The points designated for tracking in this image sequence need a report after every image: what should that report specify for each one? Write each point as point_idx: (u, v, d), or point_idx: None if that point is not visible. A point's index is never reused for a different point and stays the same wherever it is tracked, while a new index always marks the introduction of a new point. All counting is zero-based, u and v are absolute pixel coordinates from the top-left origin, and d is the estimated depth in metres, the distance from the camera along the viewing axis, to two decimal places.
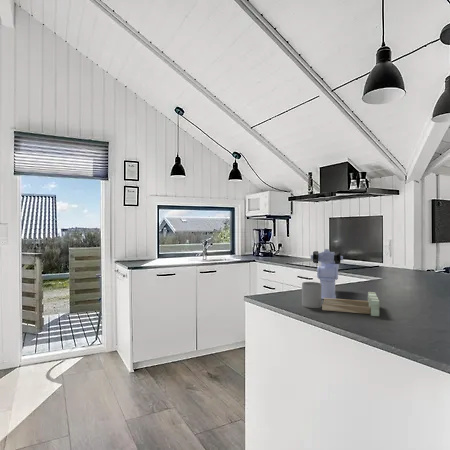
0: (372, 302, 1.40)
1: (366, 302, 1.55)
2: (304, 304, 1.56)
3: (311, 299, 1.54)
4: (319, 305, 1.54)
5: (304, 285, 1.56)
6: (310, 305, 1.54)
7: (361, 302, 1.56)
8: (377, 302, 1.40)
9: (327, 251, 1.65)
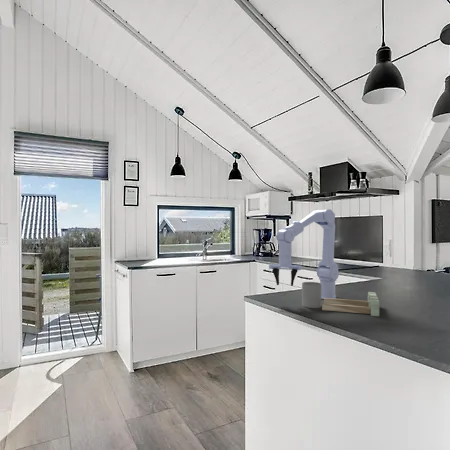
0: (372, 302, 1.40)
1: (366, 302, 1.55)
2: (304, 304, 1.56)
3: (311, 299, 1.54)
4: (319, 305, 1.54)
5: (304, 285, 1.56)
6: (310, 305, 1.54)
7: (361, 302, 1.56)
8: (377, 302, 1.40)
9: (284, 267, 1.59)
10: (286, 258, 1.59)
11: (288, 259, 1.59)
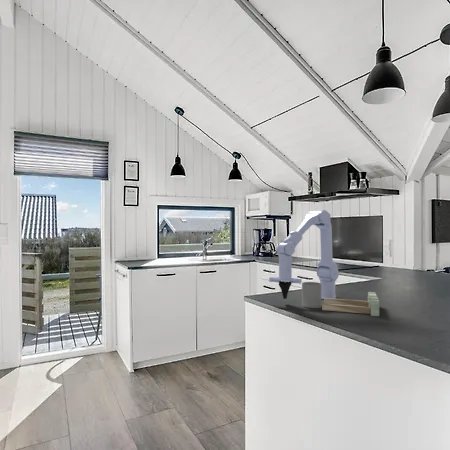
0: (372, 302, 1.40)
1: (366, 302, 1.55)
2: (304, 304, 1.56)
3: (311, 299, 1.54)
4: (319, 305, 1.54)
5: (304, 285, 1.56)
6: (310, 305, 1.54)
7: (361, 302, 1.56)
8: (377, 302, 1.40)
9: (284, 280, 1.59)
10: (286, 271, 1.59)
11: (288, 272, 1.59)
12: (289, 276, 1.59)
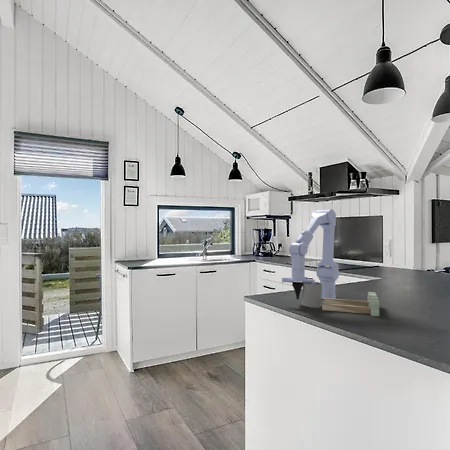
0: (372, 302, 1.40)
1: (366, 302, 1.55)
2: (304, 303, 1.56)
3: (312, 299, 1.54)
4: (319, 305, 1.54)
5: (305, 284, 1.55)
6: (310, 305, 1.54)
7: (361, 302, 1.56)
8: (377, 302, 1.40)
9: None
10: (299, 272, 1.57)
11: (301, 273, 1.57)
12: (302, 276, 1.57)
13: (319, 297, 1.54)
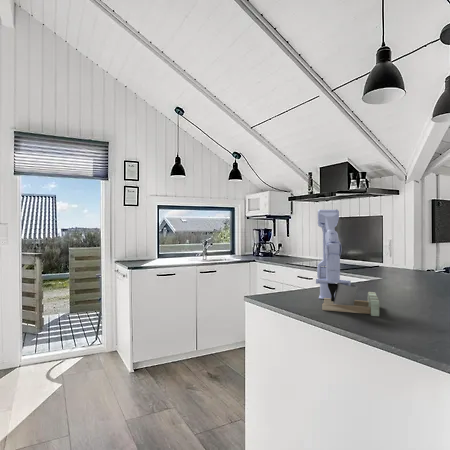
0: (372, 302, 1.40)
1: (366, 302, 1.55)
2: None
3: (345, 300, 1.49)
4: None
5: (340, 285, 1.50)
6: None
7: (361, 302, 1.56)
8: (377, 302, 1.40)
9: (333, 282, 1.52)
10: (335, 273, 1.52)
11: (337, 274, 1.52)
12: (338, 278, 1.52)
13: (353, 299, 1.49)
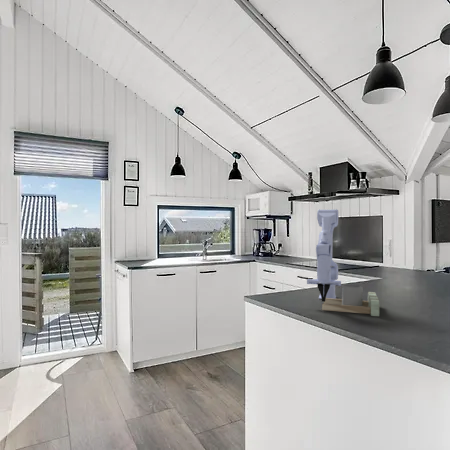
0: (372, 302, 1.40)
1: (366, 302, 1.55)
2: None
3: (353, 302, 1.48)
4: None
5: (345, 287, 1.50)
6: None
7: None
8: (377, 302, 1.40)
9: (324, 283, 1.53)
10: (326, 273, 1.53)
11: (328, 274, 1.53)
12: (328, 278, 1.53)
13: (360, 300, 1.49)
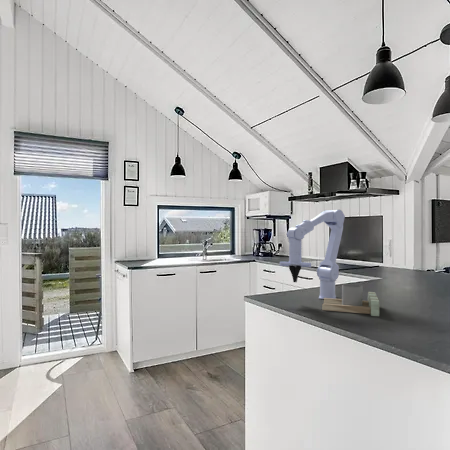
0: (372, 302, 1.40)
1: (366, 302, 1.55)
2: None
3: (353, 302, 1.48)
4: None
5: (345, 287, 1.50)
6: None
7: None
8: (377, 302, 1.40)
9: (295, 264, 1.62)
10: (296, 255, 1.62)
11: (298, 256, 1.62)
12: (299, 260, 1.62)
13: (360, 300, 1.49)
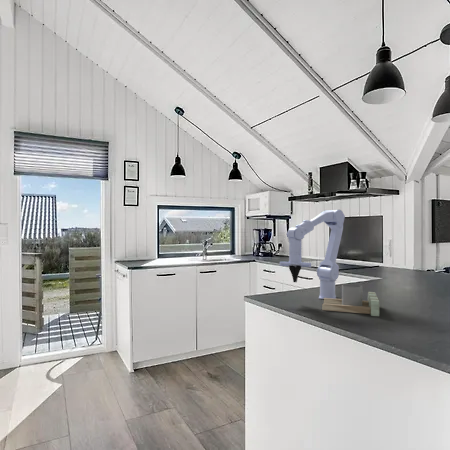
0: (372, 302, 1.40)
1: (366, 302, 1.55)
2: None
3: (353, 302, 1.48)
4: None
5: (344, 287, 1.50)
6: None
7: None
8: (377, 302, 1.40)
9: (295, 264, 1.62)
10: (296, 255, 1.62)
11: (298, 256, 1.62)
12: (299, 260, 1.62)
13: (360, 300, 1.49)
